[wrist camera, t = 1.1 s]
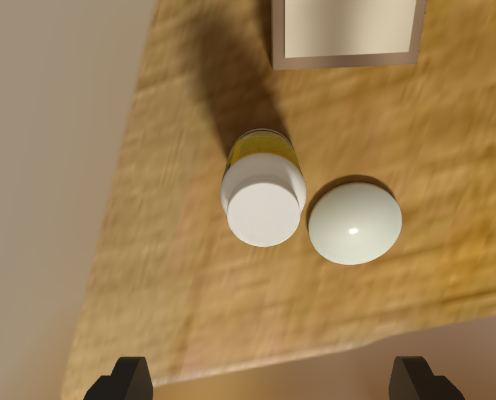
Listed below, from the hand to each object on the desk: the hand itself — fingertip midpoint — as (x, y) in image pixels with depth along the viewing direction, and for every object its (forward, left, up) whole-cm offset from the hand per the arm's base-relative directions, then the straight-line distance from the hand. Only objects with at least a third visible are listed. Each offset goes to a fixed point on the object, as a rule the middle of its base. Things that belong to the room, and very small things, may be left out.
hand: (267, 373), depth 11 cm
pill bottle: (0, 0, -22) cm, 22 cm away
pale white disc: (-9, +7, -22) cm, 25 cm away
